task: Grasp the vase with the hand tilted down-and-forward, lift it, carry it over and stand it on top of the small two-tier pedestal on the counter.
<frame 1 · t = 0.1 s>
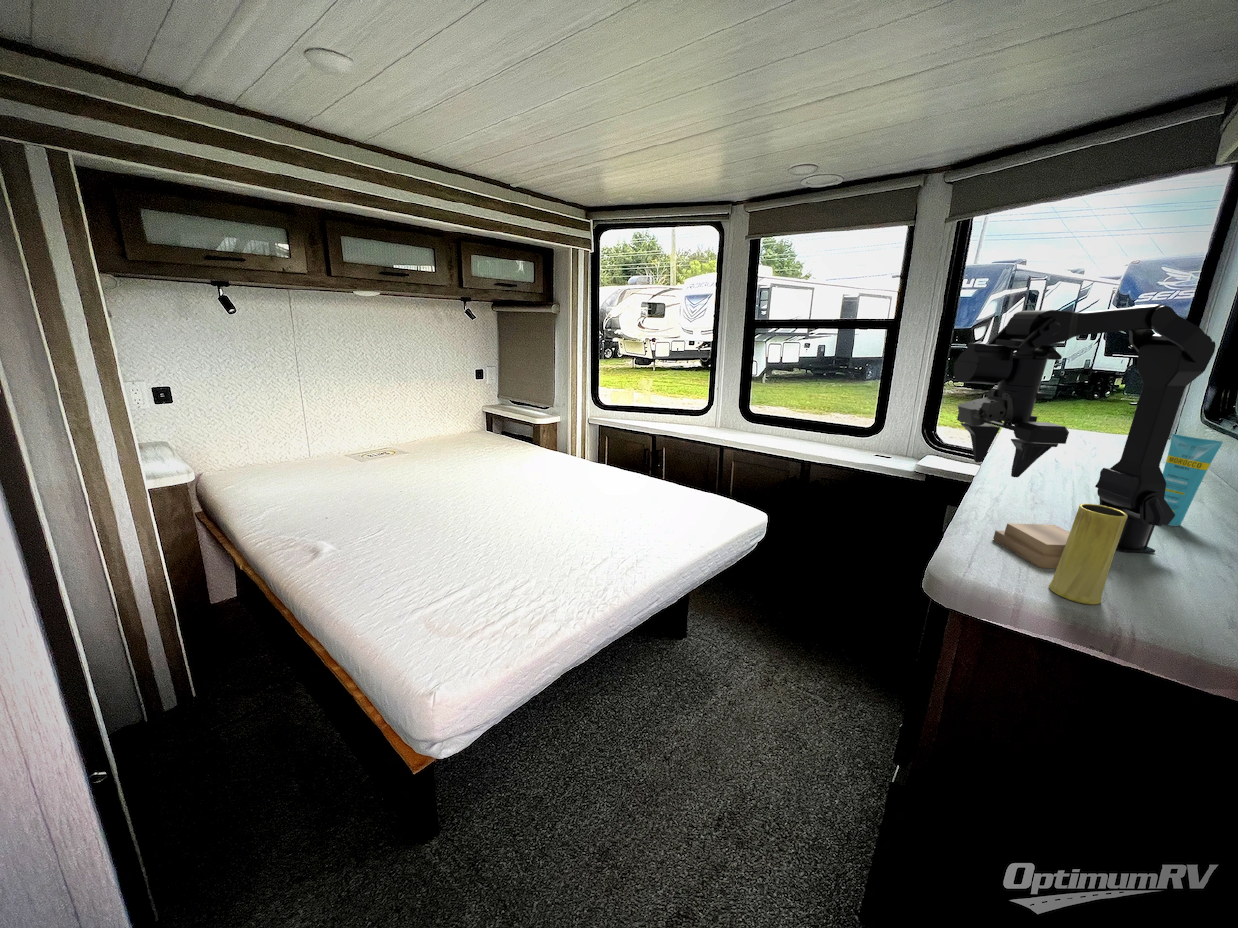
hand: (995, 469, 89), 15 cm above the cabinet, tool pointing down, fingers open, 9 cm apart
pedestal: (1044, 553, 88), on the cabinet
vase: (1073, 595, 75), on the cabinet
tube: (1163, 522, 105), on the cabinet
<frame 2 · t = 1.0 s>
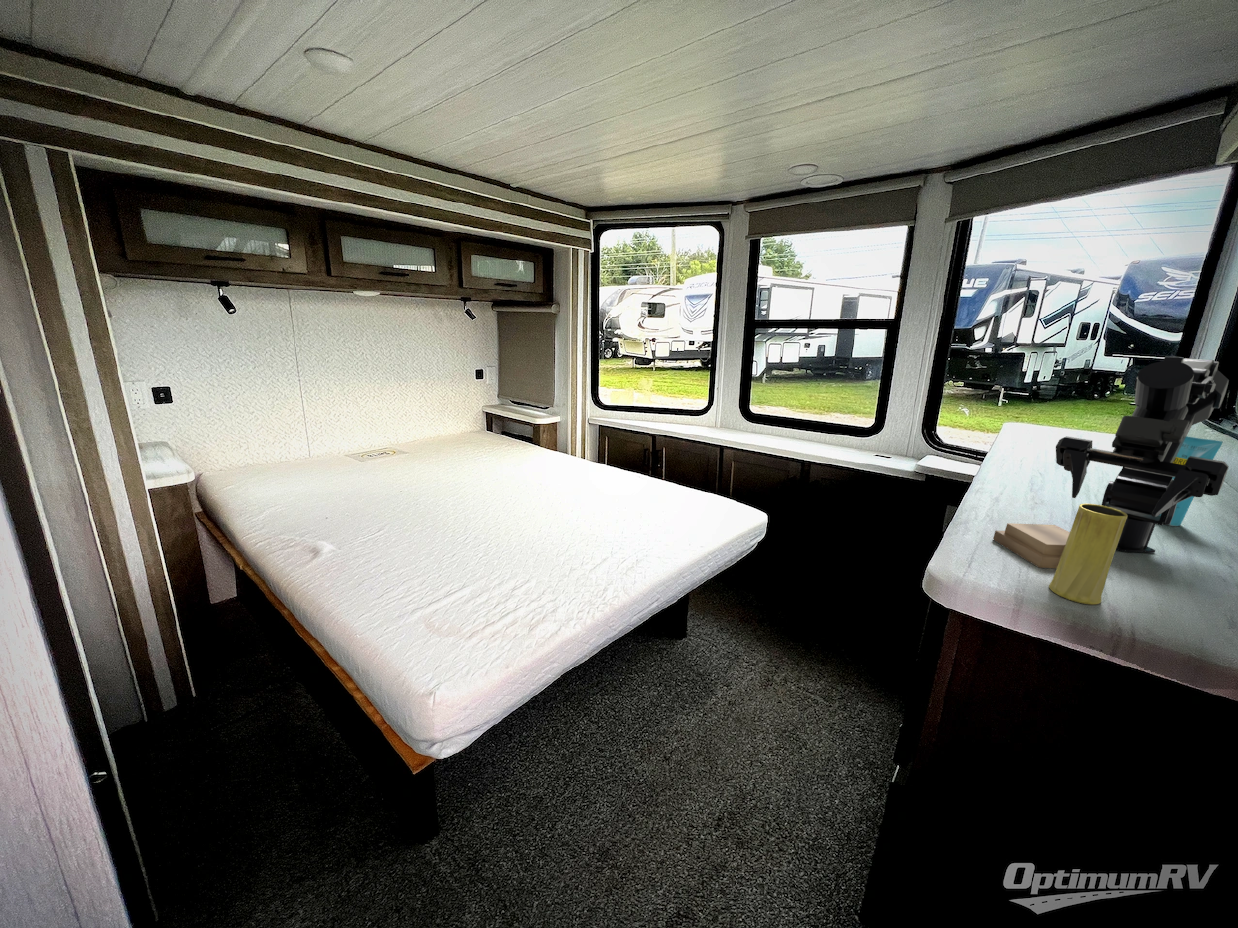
hand: (1111, 505, 75), 13 cm above the cabinet, tool tilted 45°, fingers open, 9 cm apart
nothing on the cabinet moved.
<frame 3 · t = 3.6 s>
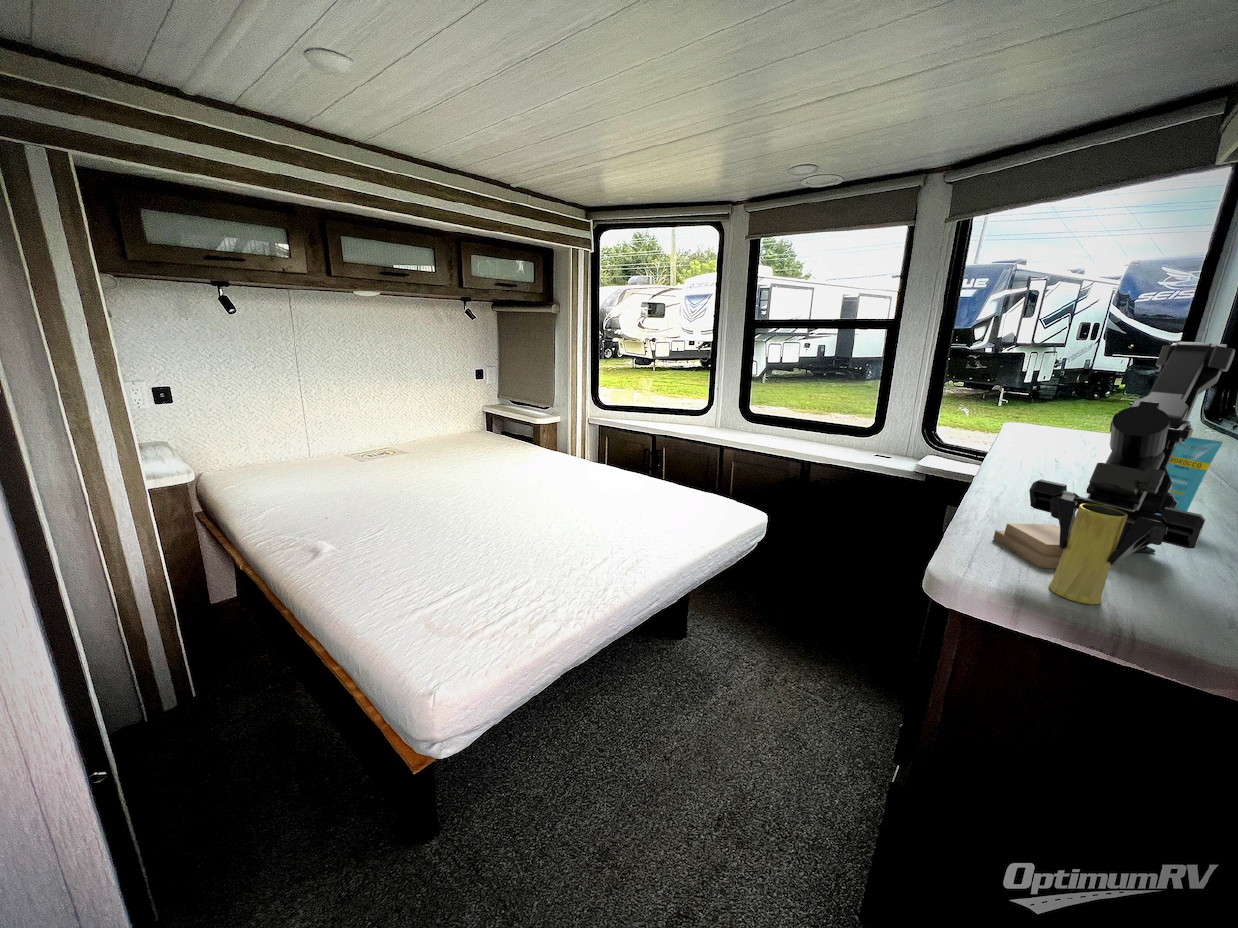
hand: (1085, 555, 72), 7 cm above the cabinet, tool tilted 45°, fingers closed on vase, 5 cm apart
vase: (1073, 595, 75), on the cabinet, touching gripper
everything else where it was.
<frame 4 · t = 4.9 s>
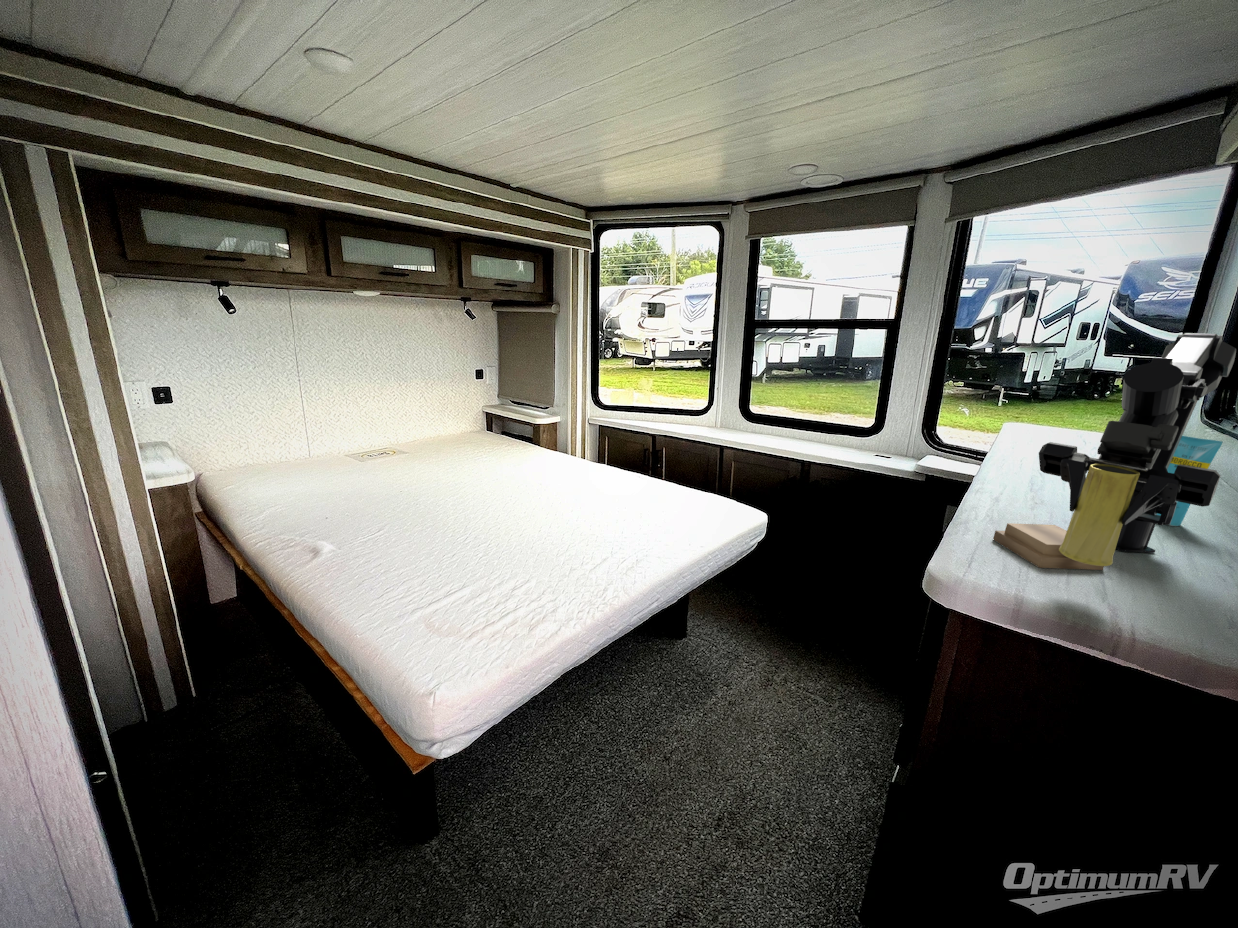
hand: (1096, 516, 71), 13 cm above the cabinet, tool tilted 45°, fingers closed on vase, 5 cm apart
vase: (1084, 558, 74), point 6 cm above the cabinet, touching gripper
everything else where it was.
when the fingers open (12 cm above the cabinet, at t = 6.5 s): vase stays where it is, resting on pedestal.
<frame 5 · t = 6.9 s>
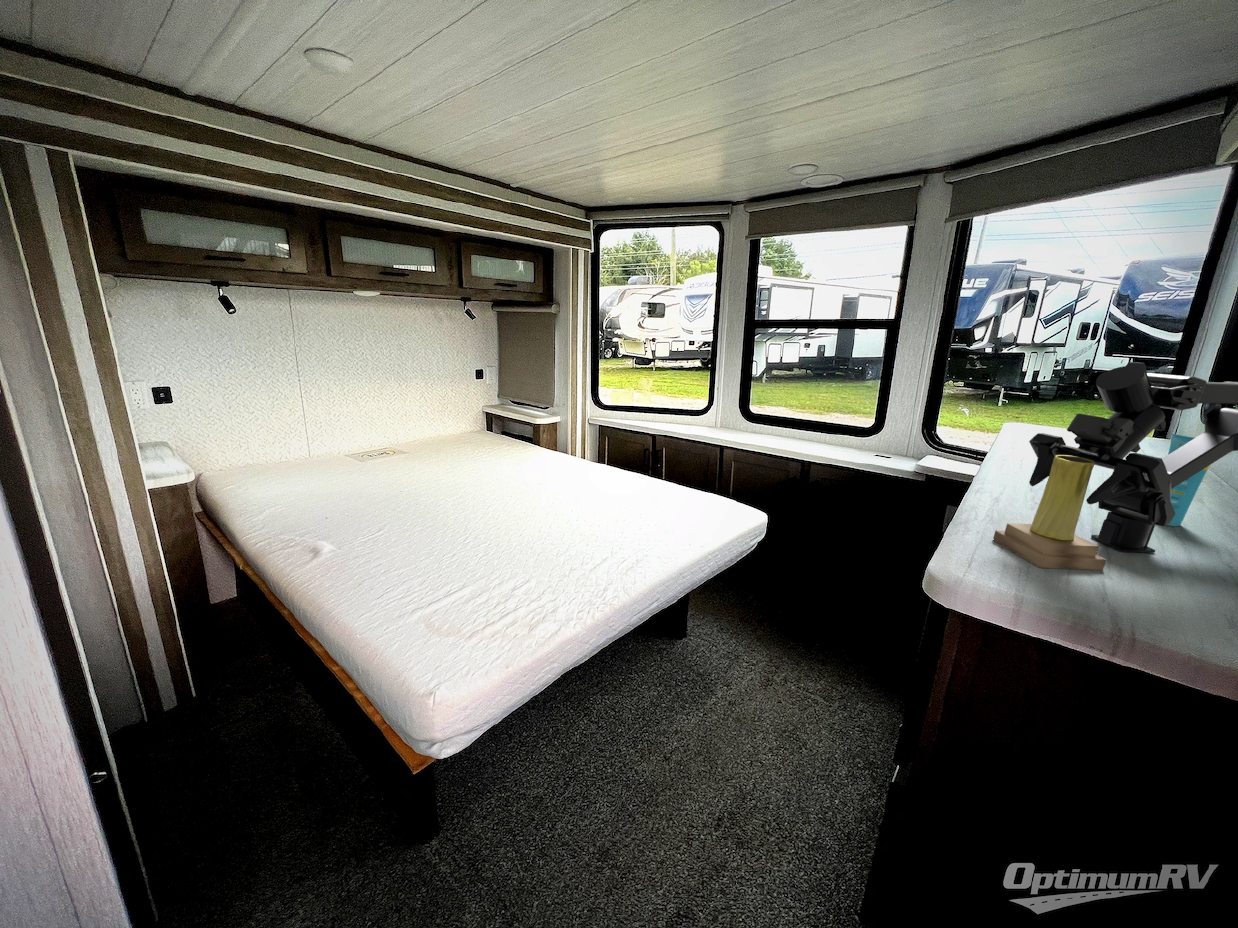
hand: (1057, 493, 84), 12 cm above the cabinet, tool tilted 45°, fingers open, 9 cm apart
vase: (1050, 535, 87), point 4 cm above the cabinet, touching pedestal
everything else where it was.
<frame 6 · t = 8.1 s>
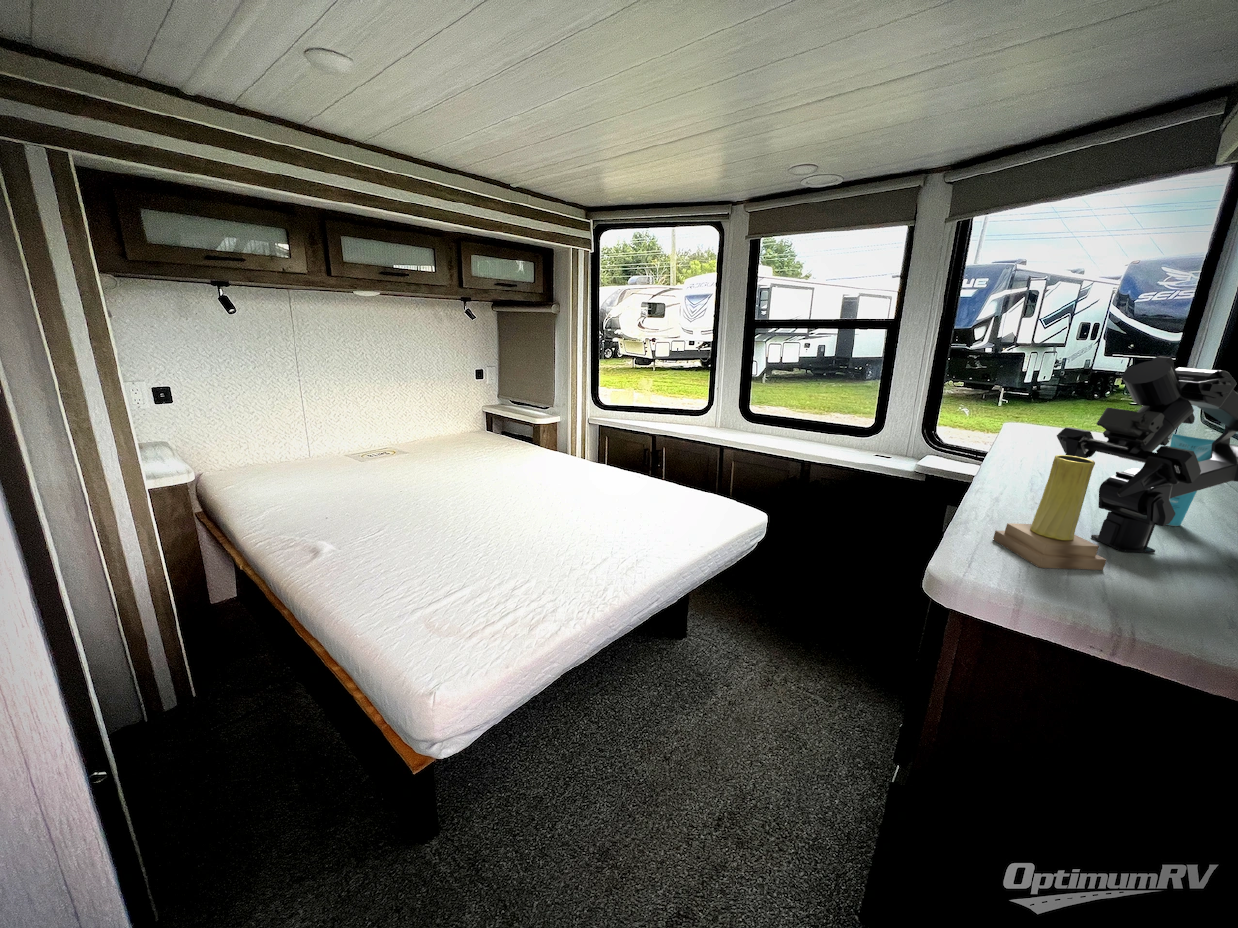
hand: (1087, 486, 86), 13 cm above the cabinet, tool tilted 45°, fingers open, 9 cm apart
nothing on the cabinet moved.
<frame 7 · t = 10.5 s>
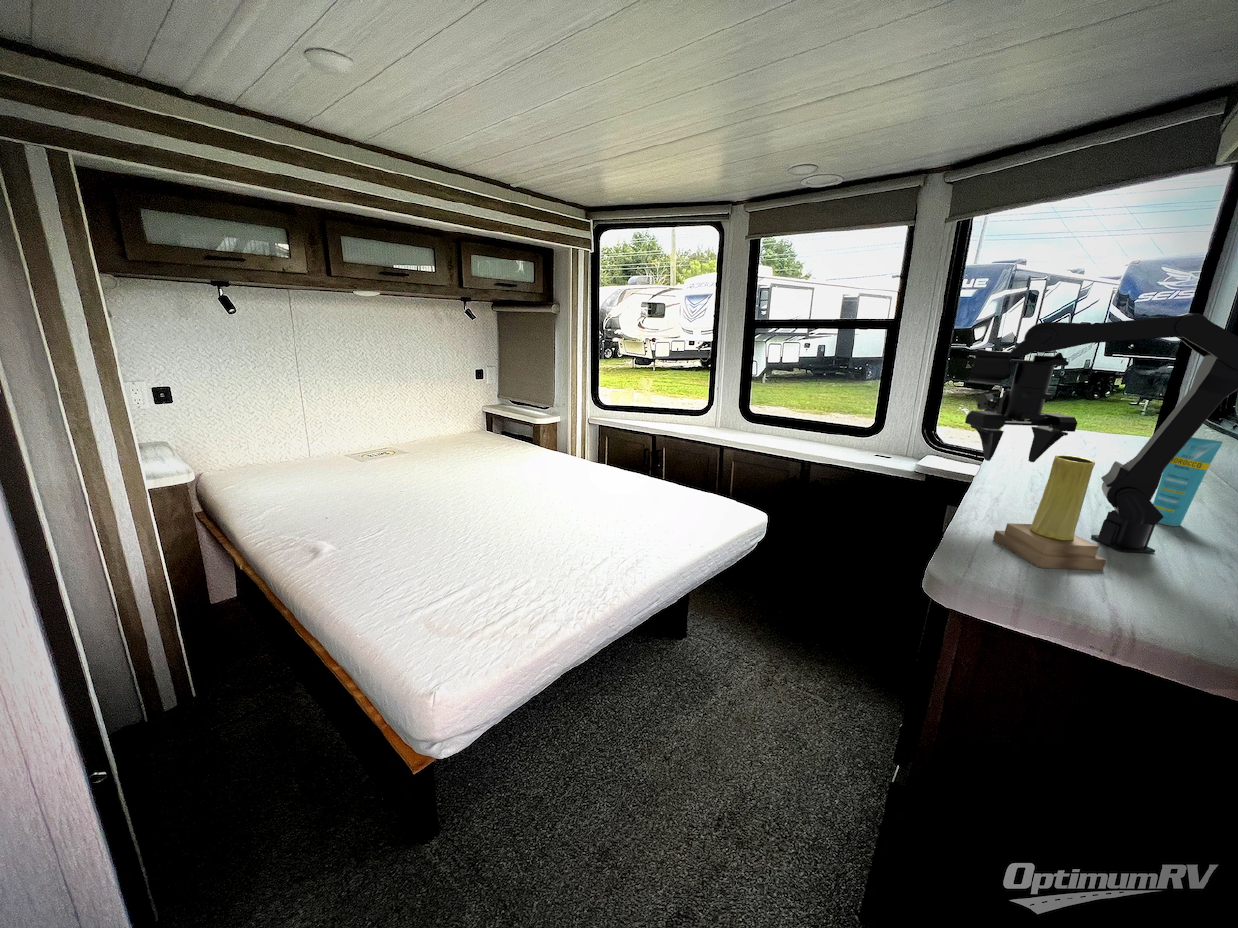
hand: (1009, 461, 101), 13 cm above the cabinet, tool pointing down, fingers open, 9 cm apart
nothing on the cabinet moved.
at the end: vase inside the target area on the pedestal (0.1 cm from its centre), point 3.8 cm above the pedestal's base; vase tilted 0°; the gripper is holding nothing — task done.
